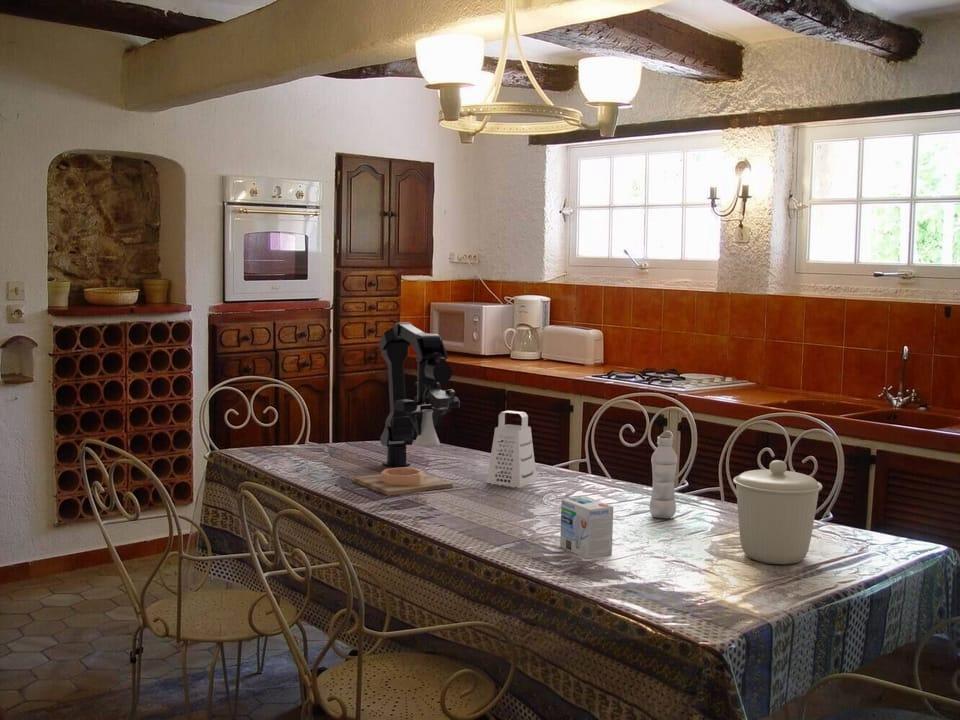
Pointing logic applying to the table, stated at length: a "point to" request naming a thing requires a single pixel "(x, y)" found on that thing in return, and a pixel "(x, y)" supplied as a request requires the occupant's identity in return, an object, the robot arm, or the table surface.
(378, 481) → the board
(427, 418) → the flask
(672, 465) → the plastic bottle
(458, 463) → the table surface
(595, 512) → the light bulb box
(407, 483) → the ring
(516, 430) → the grater
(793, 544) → the canister
